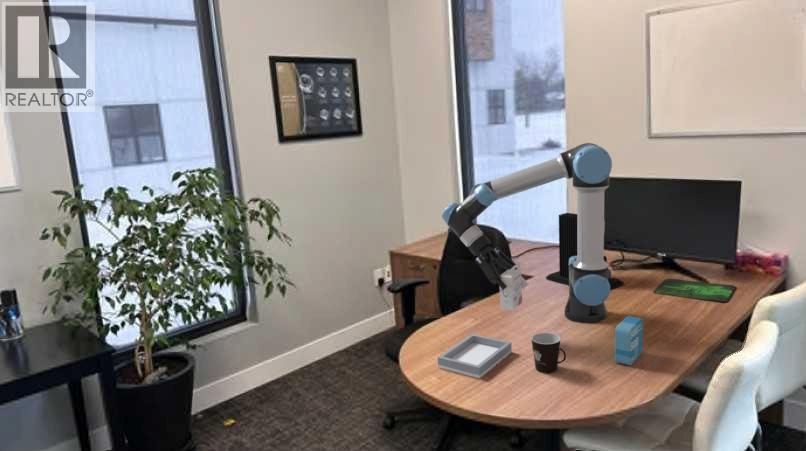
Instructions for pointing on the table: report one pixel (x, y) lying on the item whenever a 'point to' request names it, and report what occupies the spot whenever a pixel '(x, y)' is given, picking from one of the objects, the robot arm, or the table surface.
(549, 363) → the coffee mug
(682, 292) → the mouse mat
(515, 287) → the ink cartridge box
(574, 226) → the ribbed black tower
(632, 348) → the data package
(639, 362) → the table surface
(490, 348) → the docking bay
